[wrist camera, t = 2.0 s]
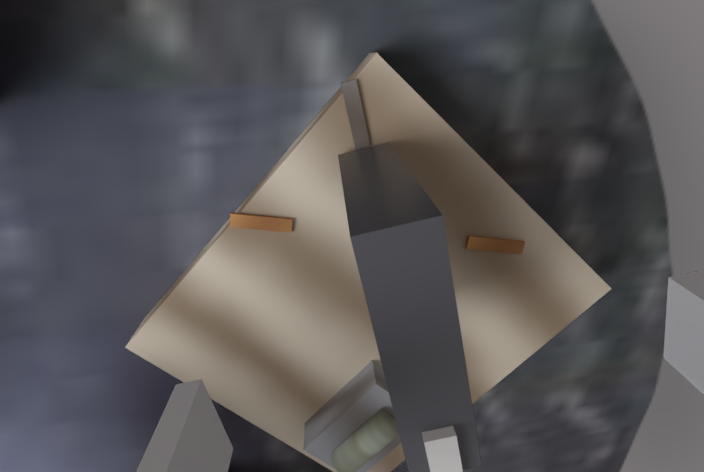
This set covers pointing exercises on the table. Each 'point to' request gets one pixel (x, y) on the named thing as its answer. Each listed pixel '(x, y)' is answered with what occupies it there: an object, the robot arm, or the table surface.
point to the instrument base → (357, 282)
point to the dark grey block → (411, 308)
